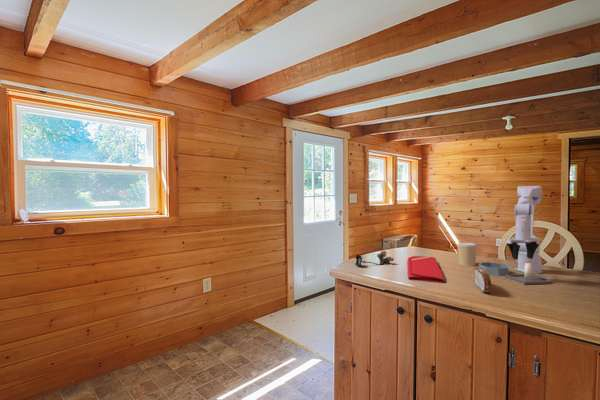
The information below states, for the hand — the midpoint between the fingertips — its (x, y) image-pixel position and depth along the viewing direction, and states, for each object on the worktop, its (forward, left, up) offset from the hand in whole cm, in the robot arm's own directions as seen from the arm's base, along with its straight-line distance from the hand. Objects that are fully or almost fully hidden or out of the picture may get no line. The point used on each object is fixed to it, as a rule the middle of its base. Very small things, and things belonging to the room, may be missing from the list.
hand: (522, 258), depth 141 cm
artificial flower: (+58, -36, -10) cm, 69 cm away
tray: (0, +3, -10) cm, 10 cm away
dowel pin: (0, +3, -9) cm, 9 cm away
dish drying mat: (+37, -21, -10) cm, 44 cm away
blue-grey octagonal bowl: (+5, -11, -10) cm, 16 cm away
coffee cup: (+8, -27, -10) cm, 30 cm away
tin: (+28, +11, -10) cm, 32 cm away
